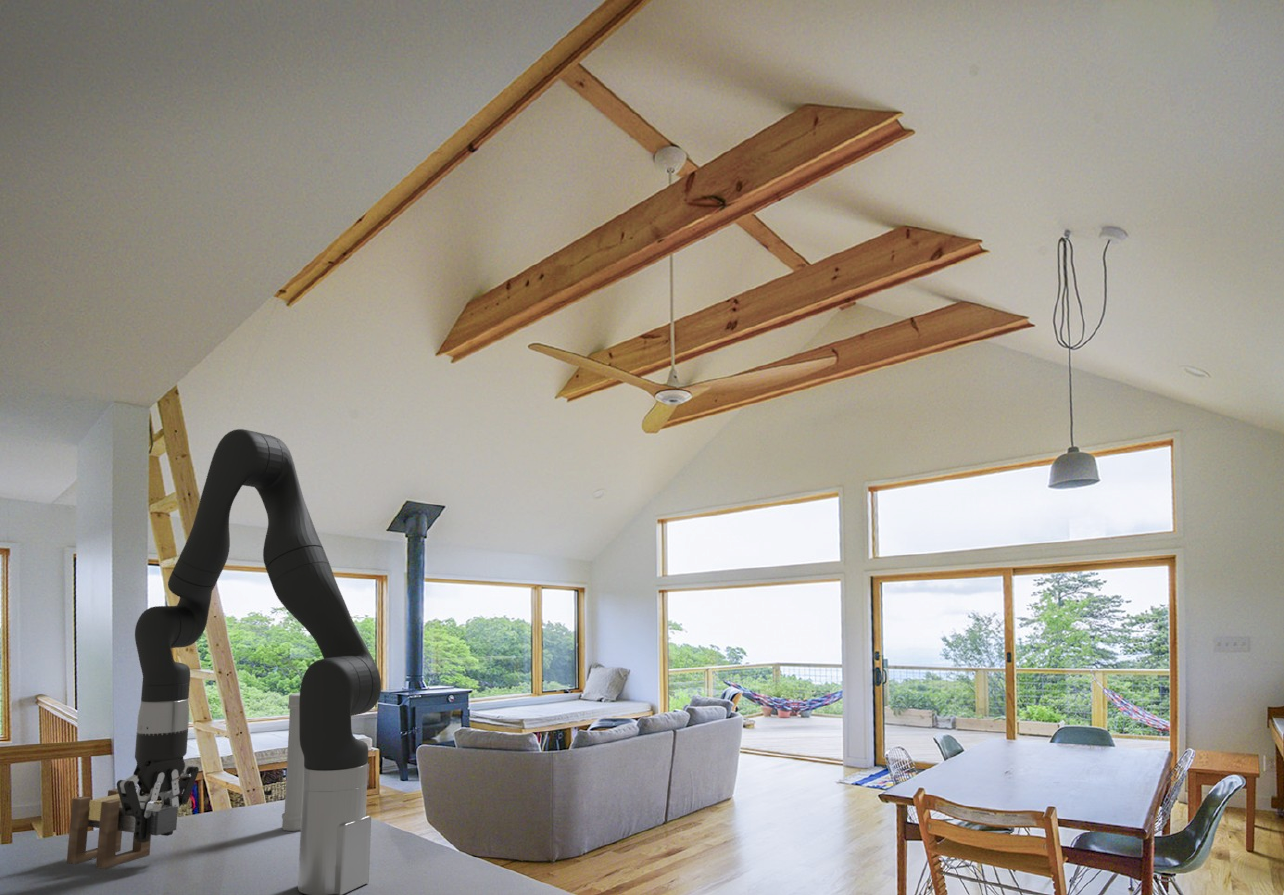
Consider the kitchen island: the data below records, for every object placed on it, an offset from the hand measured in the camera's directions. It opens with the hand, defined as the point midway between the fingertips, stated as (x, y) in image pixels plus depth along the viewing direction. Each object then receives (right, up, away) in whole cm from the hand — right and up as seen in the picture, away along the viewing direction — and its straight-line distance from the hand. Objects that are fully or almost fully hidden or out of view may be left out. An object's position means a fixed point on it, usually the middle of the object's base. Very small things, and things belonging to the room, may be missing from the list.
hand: (154, 837), depth 142 cm
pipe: (+14, -8, +21) cm, 27 cm away
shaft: (-6, 0, +2) cm, 6 cm away
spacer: (-9, +2, +4) cm, 10 cm away
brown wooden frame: (-9, -5, +3) cm, 11 cm away
